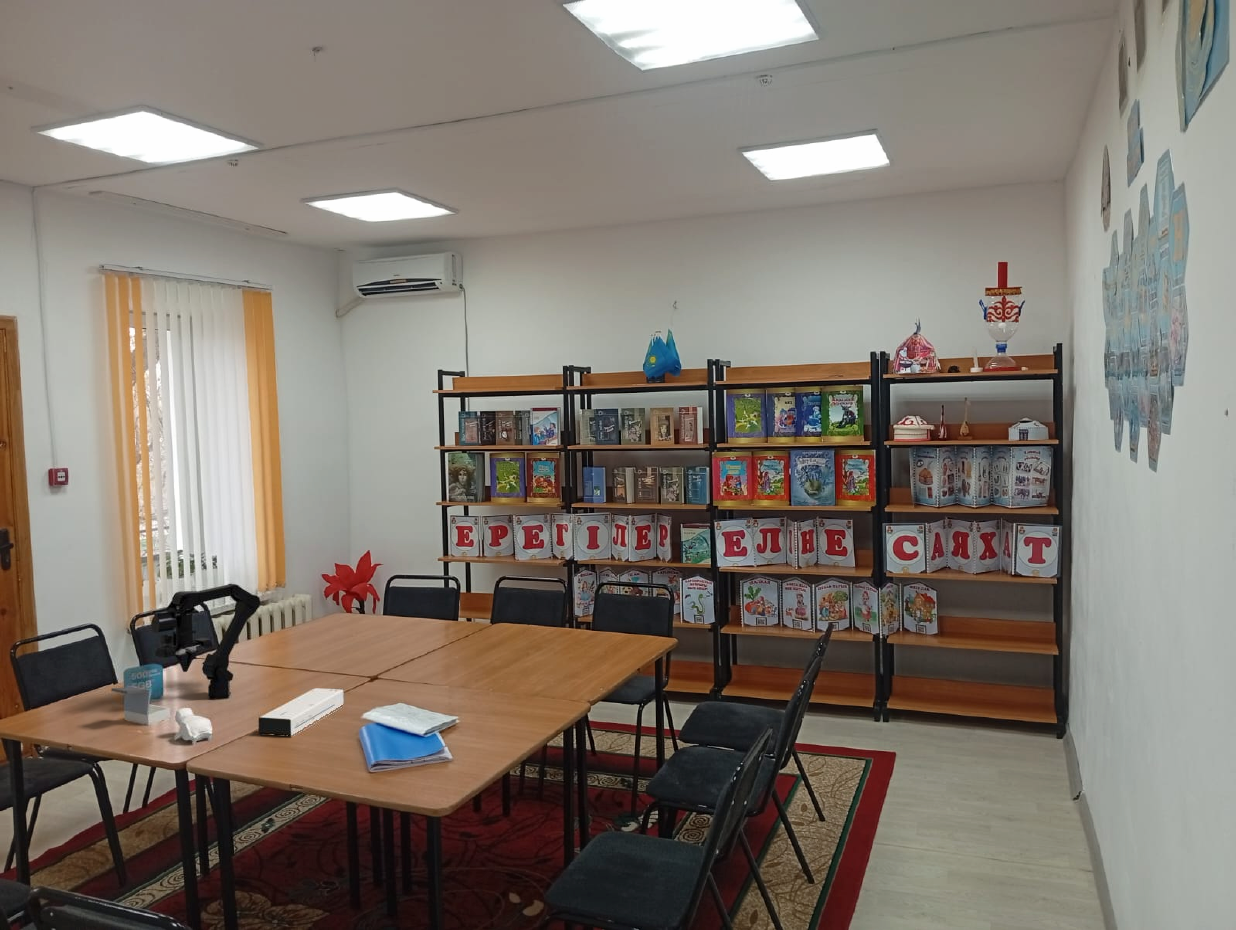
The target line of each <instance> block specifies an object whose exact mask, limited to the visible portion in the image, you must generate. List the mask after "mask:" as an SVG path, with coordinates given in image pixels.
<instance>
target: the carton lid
mask: <svg viewBox="0 0 1236 930" xmlns="http://www.w3.org/2000/svg"><path fill="white" fill-rule="evenodd" d="M111 692H115V693H118V694H124V693H125V699H124V698H123V700H124V701H123V708H122V709H123V711H124V712H125V711H129V712H134V713H139V714H144V715H148V713H149V704H150V703H151V700H150V696H151V690H148V689H143V688H137V687H132V686H126V687H124V686H123V687H114V688H111Z"/></svg>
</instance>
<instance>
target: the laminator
mask: <svg viewBox="0 0 1236 930" xmlns="http://www.w3.org/2000/svg"><path fill="white" fill-rule="evenodd" d="M344 692H345V691H344V689H341V688H340V689H337V688H325V687H324V688H323V687H321V688H320V687H314V688H313V689H311V690H308V691H307V692H305V693H303V694H301V695H298V696H297V697H295V698H294V699H292V700H290V701H288V702H286V703H284V704H282V705H280V706H278V707H276V708H275V709H273V710H270V711H269V712H266V713H265V714H262V715H261V716H260V717H258V734H259V735H260V734H274V735H285V736H284V737H286V735H288V736H292V735H293V734H295V733H297V732H298V731H300V730H302V729H303V728H304V727H307V726H308V725H309V724H312V723H313V722H314V721H316V720H319V719H320V718H321V717H323V716H325V715H326V714H329V713H330V712H331V711H333V710H335V709H336V708H338V707H340V706H341V705H343V704H345V703H344V702H345V701H344V700H345V697H344V696H345V695H344ZM343 706H344V705H343ZM329 715H330V714H329ZM319 721H320V720H319Z"/></svg>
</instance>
